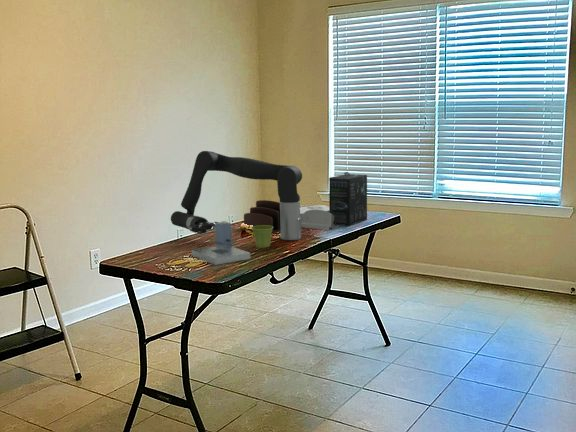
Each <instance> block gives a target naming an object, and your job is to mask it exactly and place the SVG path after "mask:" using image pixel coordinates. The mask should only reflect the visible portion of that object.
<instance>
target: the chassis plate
mask: <svg viewBox="0 0 576 432" xmlns="http://www.w3.org/2000/svg"><path fill="white" fill-rule="evenodd" d="M191 256H192V257H194V258H197V259H200V260H201V261H204V262H207V263H209V264H211V265H214V266H218V265H222V264H223V265H224V264H229V263H234V262H235V263H236V262H239V261H240V262H242V261H245V260H246V261H247V260H251V252H249V251H246V250H242V249H241V248H238V247H234V246H233V245H232V246H229V245H219V246H216V245H214V246H207V247H201V248H195V249H191Z"/></svg>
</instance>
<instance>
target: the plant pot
mask: <svg viewBox="0 0 576 432" xmlns="http://www.w3.org/2000/svg"><path fill="white" fill-rule="evenodd" d="M252 229H253V230H252V232H253V237H254V241H255V247H256V248H258V249H265V248H270V247H271V240H272V234H273V233H272V229H273V226H269V225H258V226H253V227H252Z"/></svg>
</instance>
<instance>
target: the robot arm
mask: <svg viewBox="0 0 576 432" xmlns="http://www.w3.org/2000/svg"><path fill="white" fill-rule="evenodd" d="M194 161H195V162H194V166H193V169H192V173H191V177H190V180H189V184H188V185H187V186H188V187H187V188H186V191H185V193H184V196H183V198H182V200H181V203H180V206H181V207H182V208H183V209H185V210H186V212H182V211H180V210H179V211H178V210H177V211H173V213H172V214H171V216H170V221H171V223H172V225H174V226H177V227H181V228H184V229H187V230H189V231H190V232H192V233H195V234H200V235H201V234H206V233H207V232H209V231H215V223H219V221H214V222H212V221H211V222H210V221H208V219H207V218H205V217H203V216H199V215H195V209H196V207H197V205H198V202H199V199H200V197H201V194H202V185H203V181H204V178H205V176H206V174H207V173H208V171H211V172H213V171H214V172H215V171H217V172H225V173H229V174H232V175H235V176H237V177H239V178H245V179H250V180H261V181H263V180H271V181H276V182H277V195H278V198H279V203H280V232H279V233H280V240H284V241H296V240H297V241H298V240H300V239H301V238H302V227H301V223H302V222H301V217H300V207H301V196H300V194H298V193H299V192H298V184H299V183H300V182H301V181H302V179H303V173H302V170H301V169H300V168H299V167H297V166H295V165H288V164H287V165H286V164H285V165H283V164H276V163H270V162H267V161H264V160H260V159H259V160H258V159H254V158H249V157H241V156H236V157H234V156H226V155H224V154H221V153H217V152H214V151H208V150H202V151H200V152H199V153H198V154H197V156H196V158H195V160H194Z"/></svg>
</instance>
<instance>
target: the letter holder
mask: <svg viewBox="0 0 576 432" xmlns="http://www.w3.org/2000/svg"><path fill="white" fill-rule="evenodd" d="M244 224H247V225H253V226H258V225H269V226H273V229H272V233H271V234H276V233H280V201H274V200H265V199H264V200H256V201H255V206H251V207H250V208H249V212H245V213H243V225H244Z"/></svg>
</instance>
